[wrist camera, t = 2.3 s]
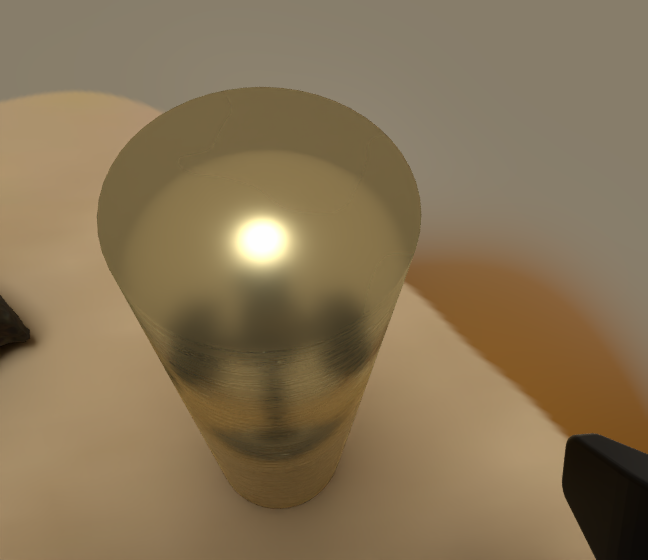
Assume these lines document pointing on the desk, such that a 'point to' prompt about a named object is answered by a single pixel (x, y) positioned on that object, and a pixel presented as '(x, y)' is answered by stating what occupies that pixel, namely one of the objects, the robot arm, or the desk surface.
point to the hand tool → (11, 325)
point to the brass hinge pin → (263, 271)
